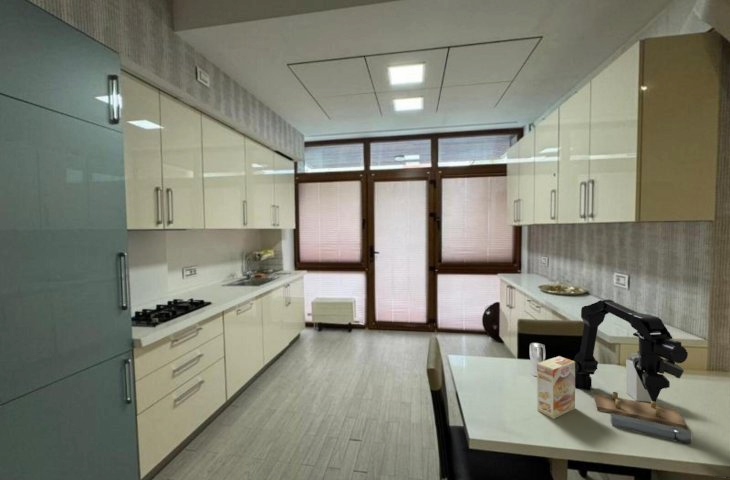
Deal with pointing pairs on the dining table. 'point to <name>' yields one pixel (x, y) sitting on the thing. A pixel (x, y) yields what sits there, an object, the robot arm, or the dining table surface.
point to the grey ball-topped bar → (651, 428)
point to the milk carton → (635, 381)
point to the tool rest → (639, 410)
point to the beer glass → (536, 356)
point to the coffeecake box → (556, 386)
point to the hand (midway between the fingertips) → (650, 395)
